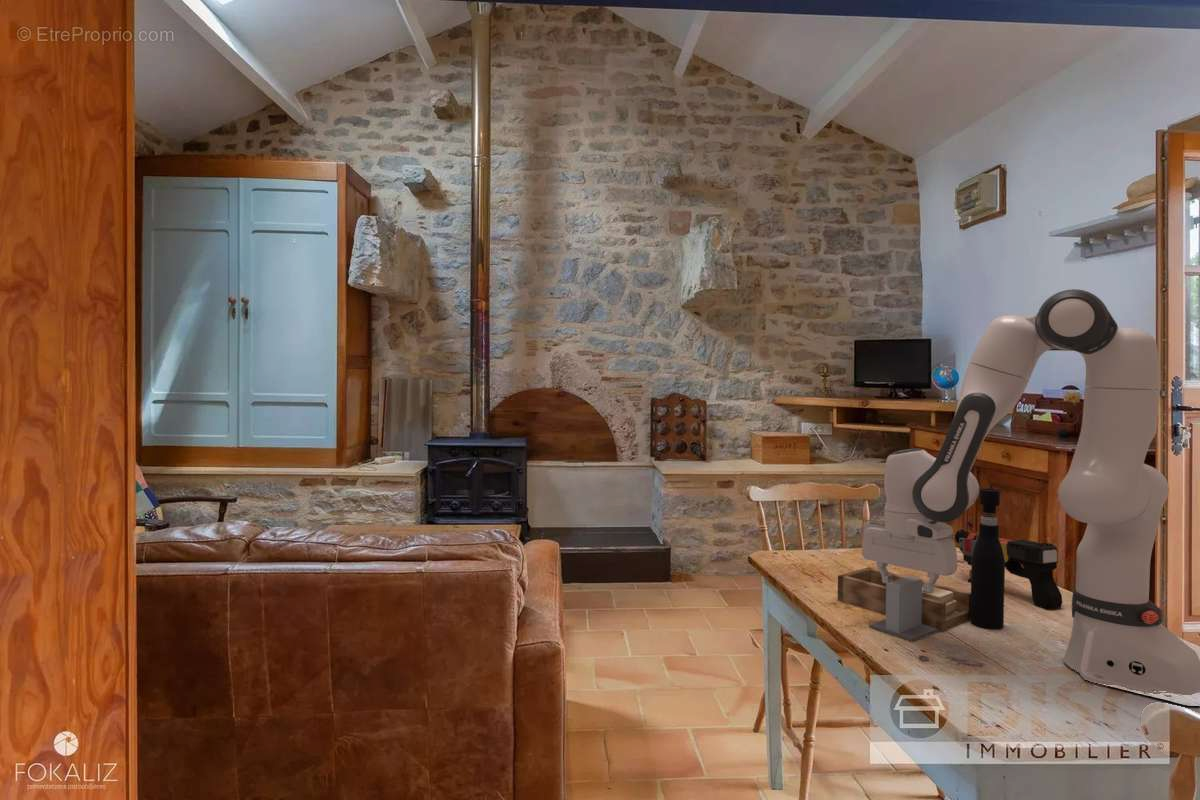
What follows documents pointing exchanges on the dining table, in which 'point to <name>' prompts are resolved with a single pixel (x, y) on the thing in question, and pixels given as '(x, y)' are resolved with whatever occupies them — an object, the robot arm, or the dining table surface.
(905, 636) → the flat gray square tile
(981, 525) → the wine bottle
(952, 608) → the block
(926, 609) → the wooden box
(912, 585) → the gray rectangular block
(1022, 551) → the toy gun
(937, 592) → the offcut top
